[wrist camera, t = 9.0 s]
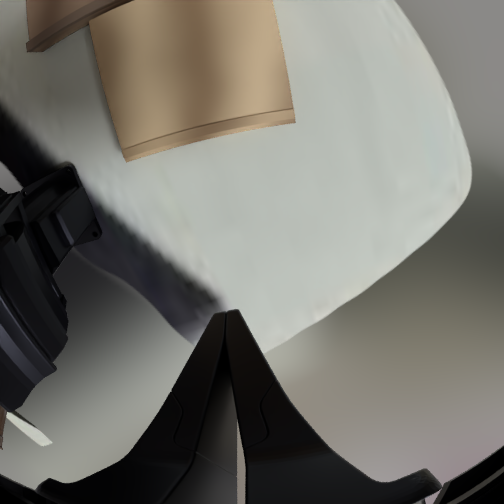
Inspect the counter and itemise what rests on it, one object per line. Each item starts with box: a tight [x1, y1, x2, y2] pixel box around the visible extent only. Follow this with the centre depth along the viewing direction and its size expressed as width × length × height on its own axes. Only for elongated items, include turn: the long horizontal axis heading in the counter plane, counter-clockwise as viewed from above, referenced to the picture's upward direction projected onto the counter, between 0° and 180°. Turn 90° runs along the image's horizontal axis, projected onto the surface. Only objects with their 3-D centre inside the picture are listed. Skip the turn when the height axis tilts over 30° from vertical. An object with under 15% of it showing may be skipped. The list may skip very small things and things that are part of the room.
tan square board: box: [89, 0, 296, 162], centre depth 13 cm, size 11×11×2 cm
